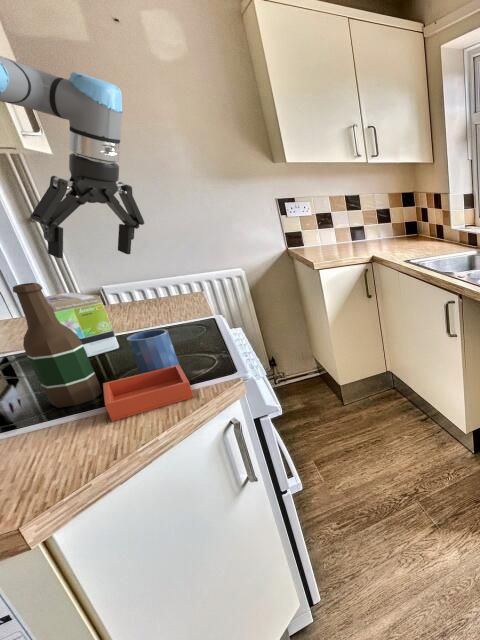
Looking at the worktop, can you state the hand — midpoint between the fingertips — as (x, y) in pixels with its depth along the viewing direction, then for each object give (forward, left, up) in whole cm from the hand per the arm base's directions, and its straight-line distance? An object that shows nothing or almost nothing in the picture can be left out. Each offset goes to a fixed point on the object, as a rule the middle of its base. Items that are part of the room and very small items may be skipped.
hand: (92, 254), depth 95 cm
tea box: (-19, -9, -27) cm, 34 cm away
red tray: (+29, +1, -26) cm, 39 cm away
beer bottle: (+18, -10, -27) cm, 34 cm away
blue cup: (+17, +4, -26) cm, 32 cm away
